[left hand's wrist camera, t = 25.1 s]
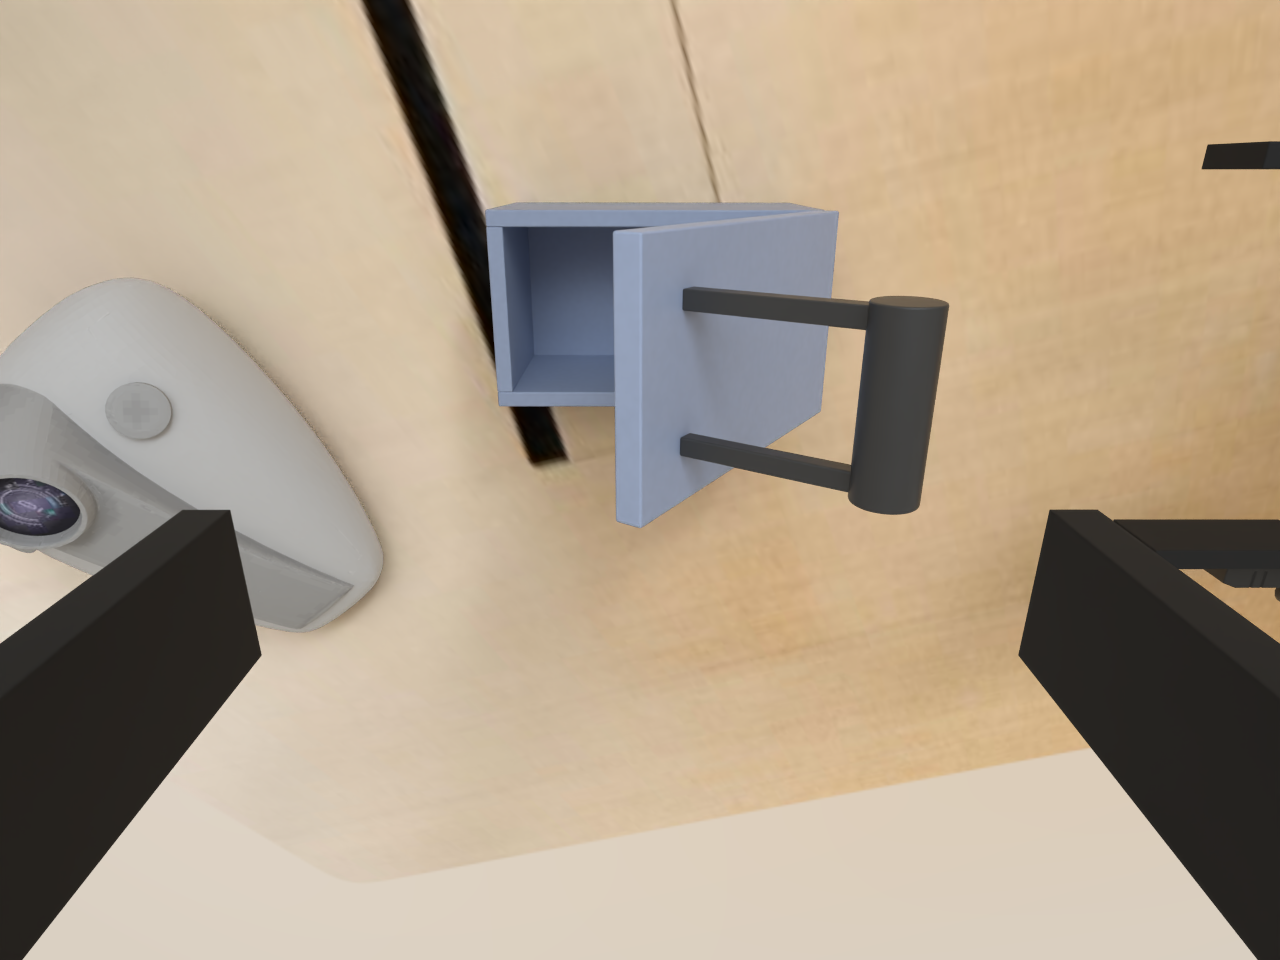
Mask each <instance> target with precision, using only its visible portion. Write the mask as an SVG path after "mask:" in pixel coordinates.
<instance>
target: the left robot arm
mask: <svg viewBox="0 0 1280 960" xmlns="http://www.w3.org/2000/svg"><path fill="white" fill-rule="evenodd" d="M260 657H261V650H260V645H259V641H258V636H257V632H256V627H255V622H254V618H253V613H252V608H251V604H250V599H249V594H248V590H247V585H246V580H245V576H244V571H243V566H242V562H241V557H240V553H239V548H238V543H237V539H236V534H235V529H234V525H233V520H232V515H231V511H230V510H181V511H180V512H179V513H177V514H176V515H175V516H173V517H172V518H171V519H169V520H168V521H167V522H165V523H164V524H162V525H161V526H160V527H158V528H157V529H156V530H154V531H153V532H152V533H150V534H149V535H147V536H146V537H145V538H143V539H142V540H141V541H139V542H138V543H137V544H135V545H134V546H133V547H131V548H130V549H128V550H127V551H126V552H124V553H123V554H122V555H120V556H119V557H118V558H116V559H115V560H113V561H112V562H111V563H109V564H108V565H107V566H105V567H104V568H103V569H101V570H100V571H98V572H97V573H96V574H94V575H93V576H92V577H90V578H89V579H88V580H86V581H85V582H84V583H82V584H81V585H79V586H78V587H77V588H75V589H74V590H73V591H71V592H70V593H69V594H67V595H66V596H64V597H63V598H62V599H60V600H59V601H58V602H56V603H55V604H54V605H52V606H51V607H49V608H48V609H47V610H45V611H44V612H43V613H41V614H40V615H39V616H37V617H36V618H35V619H33V620H32V621H30V622H29V623H28V624H26V625H25V626H24V627H22V628H21V629H20V630H18V631H17V632H15V633H14V634H13V635H11V636H10V637H9V638H7V639H6V640H5V641H3V642H2V643H1V644H0V960H22V959H23V958H24V957H25V956H26V954H27V953H28V952H29V951H30V949H31V948H32V947H33V946H34V944H35V943H36V942H37V940H38V939H39V938H40V937H41V935H42V934H43V933H44V932H45V930H46V929H47V928H48V926H49V925H50V924H51V923H52V921H53V920H54V919H55V918H56V916H57V915H58V914H59V912H60V911H61V910H62V909H63V907H64V906H65V905H66V904H67V902H68V901H69V900H70V898H71V897H72V896H73V895H74V893H75V892H76V891H77V890H78V888H79V887H80V886H81V884H82V883H83V882H84V881H85V879H86V878H87V877H88V876H89V874H90V873H91V872H92V870H93V869H94V868H95V867H96V865H97V864H98V863H99V862H100V860H101V859H102V858H103V856H104V855H105V854H106V853H107V851H108V850H109V849H110V847H111V846H112V845H113V844H114V842H115V841H116V840H117V839H118V837H119V836H120V835H121V833H122V832H123V831H124V830H125V828H126V827H127V826H128V825H129V823H130V822H131V821H132V820H133V818H134V817H135V816H136V814H137V813H138V812H139V811H140V809H141V808H142V807H143V805H144V804H145V803H146V802H147V800H148V799H149V798H150V797H151V795H152V794H153V793H154V791H155V790H156V789H157V788H158V786H159V785H160V784H161V783H162V781H163V780H164V779H165V778H166V776H167V775H168V774H169V772H170V771H171V770H172V769H173V767H174V766H175V765H176V764H177V762H178V761H179V760H180V758H181V757H182V756H183V755H184V753H185V752H186V751H187V750H188V748H189V747H190V746H191V744H192V743H193V742H194V741H195V739H196V738H197V737H198V736H199V734H200V733H201V732H202V730H203V729H204V728H205V727H206V725H207V724H208V723H209V722H210V720H211V719H212V718H213V716H214V715H215V714H216V713H217V711H218V710H219V709H220V708H221V706H222V705H223V704H224V702H225V701H226V700H227V699H228V697H229V696H230V695H231V694H232V692H233V691H234V690H235V688H236V687H237V686H238V685H239V683H240V682H241V681H242V680H243V678H244V677H245V676H246V674H247V673H248V672H249V671H250V669H251V668H252V667H253V665H254V664H255V663H256V662H257V660H258V659H259V658H260ZM1019 657H1020V658H1021V659H1022V660H1023V662H1024V663H1025V664H1026V666H1027V667H1028V668H1029V669H1030V671H1031V672H1032V673H1033V674H1034V676H1035V677H1036V678H1037V680H1038V681H1039V682H1040V683H1041V685H1042V686H1043V687H1044V688H1045V690H1046V691H1047V692H1048V694H1049V695H1050V696H1051V697H1052V699H1053V700H1054V701H1055V702H1056V704H1057V705H1058V706H1059V708H1060V709H1061V710H1062V711H1063V713H1064V714H1065V715H1066V716H1067V718H1068V719H1069V720H1070V722H1071V723H1072V724H1073V725H1074V727H1075V728H1076V729H1077V730H1078V732H1079V733H1080V734H1081V736H1082V737H1083V738H1084V739H1085V741H1086V742H1087V743H1088V744H1089V746H1090V747H1091V748H1092V750H1093V751H1094V752H1095V753H1096V755H1097V756H1098V757H1099V758H1100V760H1101V761H1102V762H1103V763H1104V765H1105V766H1106V767H1107V769H1108V770H1109V771H1110V772H1111V774H1112V775H1113V776H1114V778H1115V779H1116V780H1117V781H1118V783H1119V784H1120V785H1121V786H1122V788H1123V789H1124V790H1125V792H1126V793H1127V794H1128V795H1129V797H1130V798H1131V799H1132V800H1133V802H1134V803H1135V804H1136V805H1137V807H1138V808H1139V809H1140V811H1141V812H1142V813H1143V814H1144V816H1145V817H1146V818H1147V819H1148V821H1149V822H1150V823H1151V825H1152V826H1153V827H1154V828H1155V830H1156V831H1157V832H1158V834H1159V835H1160V836H1161V837H1162V839H1163V840H1164V841H1165V842H1166V844H1167V845H1168V846H1169V847H1170V849H1171V850H1172V851H1173V852H1174V854H1175V855H1176V856H1177V858H1178V859H1179V860H1180V862H1181V863H1182V864H1183V865H1184V867H1185V868H1186V869H1187V870H1188V872H1189V873H1190V874H1191V876H1192V877H1193V878H1194V879H1195V881H1196V882H1197V883H1198V884H1199V886H1200V887H1201V888H1202V890H1203V891H1204V892H1205V893H1206V895H1207V896H1208V897H1209V898H1210V900H1211V901H1212V902H1213V903H1214V905H1215V906H1216V907H1217V909H1218V910H1219V911H1220V912H1221V914H1222V915H1223V916H1224V917H1225V919H1226V920H1227V921H1228V923H1229V924H1230V925H1231V926H1232V928H1233V929H1234V930H1235V932H1236V933H1237V934H1238V935H1239V937H1240V938H1241V939H1242V940H1243V942H1244V943H1245V944H1246V946H1247V947H1248V948H1249V949H1250V951H1251V952H1252V953H1253V954H1254V956H1255V957H1256V958H1257V960H1280V644H1279V643H1278V642H1277V641H1275V640H1274V639H1273V638H1271V637H1270V636H1269V635H1267V634H1266V633H1265V632H1263V631H1262V630H1260V629H1259V628H1258V627H1256V626H1255V625H1254V624H1252V623H1251V622H1250V621H1248V620H1247V619H1245V618H1244V617H1243V616H1241V615H1240V614H1239V613H1237V612H1236V611H1235V610H1233V609H1232V608H1231V607H1229V606H1228V605H1226V604H1225V603H1224V602H1222V601H1221V600H1220V599H1218V598H1217V597H1216V596H1214V595H1213V594H1211V593H1210V592H1209V591H1207V590H1206V589H1205V588H1203V587H1202V586H1201V585H1199V584H1198V583H1196V582H1195V581H1194V580H1192V579H1191V578H1190V577H1188V576H1187V575H1186V574H1184V573H1183V572H1182V571H1180V570H1179V569H1177V568H1176V567H1175V566H1173V565H1172V564H1171V563H1169V562H1168V561H1167V560H1165V559H1164V558H1162V557H1161V556H1160V555H1158V554H1157V553H1156V552H1154V551H1153V550H1152V549H1150V548H1149V547H1147V546H1146V545H1145V544H1143V543H1142V542H1141V541H1139V540H1138V539H1137V538H1135V537H1134V536H1133V535H1131V534H1130V533H1128V532H1127V531H1126V530H1124V529H1123V528H1122V527H1120V526H1119V525H1118V524H1116V523H1115V522H1113V521H1112V520H1111V519H1109V518H1108V517H1107V516H1105V515H1104V514H1103V513H1101V512H1100V511H1099V510H1050V511H1049V515H1048V520H1047V525H1046V529H1045V534H1044V539H1043V543H1042V548H1041V553H1040V557H1039V562H1038V566H1037V571H1036V576H1035V580H1034V585H1033V590H1032V594H1031V599H1030V604H1029V608H1028V613H1027V618H1026V622H1025V627H1024V632H1023V636H1022V641H1021V645H1020V650H1019Z"/></svg>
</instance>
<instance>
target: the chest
mask: <svg viewBox="0 0 1280 960" xmlns="http://www.w3.org/2000/svg"><path fill="white" fill-rule="evenodd" d="M818 210H820V211H825V210H821V209H816V208H811V207H806V206H801V205H796V204H791V203H513V204H509V205H505V206H500V207H496V208H492V209H487V210H486V211H485V214H486V226H487V228H486V230H487V244H488V259H489V273H490V287H491V302H492V316H493V331H494V345H495V359H496V374H497V388H498V401H499V406H615V376H614V290H613V232H614V231H616V230H627V229H637V228H647V227H657V226H667V225H677V224H687V223H697V222H707V221H717V220H728V219H738V218H748V217H758V216H768V215H778V214H788V213H798V212H808V211H818Z"/></svg>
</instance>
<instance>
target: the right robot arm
mask: <svg viewBox="0 0 1280 960" xmlns="http://www.w3.org/2000/svg"><path fill="white" fill-rule="evenodd" d="M1202 169H1280V142H1251V143H1232V144H1212V145H1208V146H1207V150H1206V154H1205V158H1204V162H1203V166H1202ZM1113 522H1115V523H1116V524H1118V525H1119V526H1120V527H1122V528H1123V529H1124V530H1126V531H1127V532H1128V533H1130V534H1131V535H1133V536H1134V537H1135V538H1137V539H1138V540H1139V541H1141V542H1142V543H1143V544H1145V545H1146V546H1147V547H1149V548H1150V549H1152V550H1153V551H1154V552H1156V553H1157V554H1158V555H1160V556H1161V557H1162V558H1164V559H1165V560H1167V561H1168V562H1169V563H1171V564H1172V565H1173V566H1175V567H1176V568H1177V569H1204V570H1206V571H1207V572H1208V573H1210V574H1211V575H1213V576H1214V577H1215V578H1217V579H1218V580H1220V581H1221V582H1223V583H1225V584H1227V585H1230V586H1232V587H1235V588H1249V587H1251V588H1260V587H1262V588H1276V590H1275V597H1276V599H1277V600H1278V601H1280V520H1114V521H1113Z"/></svg>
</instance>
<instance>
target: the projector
mask: <svg viewBox="0 0 1280 960" xmlns="http://www.w3.org/2000/svg"><path fill="white" fill-rule="evenodd" d="M181 510H230V511H231V515H232V520H233V525H234V529H235V534H236V539H237V543H238V548H239V553H240V557H241V562H242V566H243V571H244V576H245V580H246V585H247V590H248V594H249V599H250V604H251V608H252V613H253V618H254V622H255V625H257V626H262V627H266V628H271V629H277V630H282V631H288V632H309V631H313V630H315V629H318V628H320V627H322V626H324V625H326V624H328V623H329V622H331V621H332V620H334V619H335V618H337V617H338V616H340V615H341V614H343V613H344V612H345V611H346V610H348V609H349V608H350V607H352V606H353V605H354V604H355V603H357V602H358V601H359V600H360V599H361V598H362V597H364V596H365V595H366V594H367V593H368V592H369V591H370V590H371V589H372V587H373V586H374V585H375V583H376V582H377V580H378V578H379V576H380V574H381V571H382V567H383V551H382V547H381V544H380V542H379V539H378V537H377V535H376V532H375V530H374V528H373V526H372V524H371V522H370V520H369V518H368V516H367V514H366V512H365V510H364V509H363V507H362V505H361V503H360V501H359V500H358V498H357V496H356V494H355V493H354V491H353V489H352V488H351V486H350V484H349V483H348V481H347V480H346V478H345V476H344V475H343V473H342V472H341V470H340V468H339V467H338V465H337V464H336V462H335V461H334V459H333V458H332V456H331V455H330V453H329V452H328V451H327V449H326V448H325V446H324V445H323V443H322V442H321V441H320V439H319V438H318V437H317V435H316V434H315V433H314V431H313V430H312V428H311V427H310V426H309V425H308V423H307V422H306V421H305V420H304V418H303V417H302V416H301V415H300V413H299V412H298V411H297V410H296V408H295V407H294V406H293V405H292V403H291V402H290V401H289V400H288V399H287V398H286V396H285V395H284V394H283V393H282V392H281V391H280V389H279V388H278V387H277V386H276V385H275V384H274V382H273V381H272V380H271V379H270V378H269V377H268V376H267V375H266V374H265V373H264V371H263V370H262V369H261V368H260V367H259V366H258V365H257V364H256V363H255V362H254V361H253V360H252V359H251V357H250V356H249V355H248V354H247V353H246V352H245V351H244V350H243V349H242V348H241V347H240V346H239V345H238V344H237V343H236V342H235V341H234V340H233V339H232V338H231V337H230V336H229V335H228V334H227V333H226V332H225V331H223V330H222V329H221V328H220V327H219V326H218V325H217V324H216V323H215V322H214V321H213V320H211V319H210V318H209V317H208V316H207V315H206V314H205V313H203V312H202V311H201V310H200V309H199V308H197V307H196V306H195V305H193V304H192V303H191V302H189V301H188V300H186V299H185V298H184V297H182V296H181V295H179V294H177V293H176V292H174V291H172V290H171V289H169V288H167V287H165V286H162V285H160V284H158V283H155V282H152V281H149V280H144V279H139V278H119V279H113V280H108V281H104V282H101V283H98V284H95V285H92V286H89V287H86V288H84V289H82V290H80V291H78V292H76V293H74V294H72V295H70V296H68V297H67V298H65V299H64V300H62V301H61V302H59V303H58V304H56V305H55V306H54V307H52V308H51V309H50V310H49V311H47V312H46V313H45V314H43V315H42V316H41V317H40V318H38V319H37V320H36V321H35V322H34V323H33V324H32V325H30V326H29V327H28V328H27V329H26V330H25V331H24V332H23V333H22V334H21V335H19V336H18V337H17V338H16V339H15V340H14V341H13V342H12V343H11V344H10V345H9V346H8V348H7V349H6V350H5V352H4V353H3V354H2V355H1V356H0V544H3V545H7V546H10V547H12V548H14V549H16V550H19V551H22V552H26V553H32V552H34V551H35V550H39V551H40V552H42V553H44V554H46V555H48V556H50V557H52V558H54V559H56V560H58V561H61V562H63V563H65V564H67V565H70V566H72V567H74V568H76V569H79V570H81V571H83V572H85V573H88V574H91V575H94V574H96V573H97V572H98V571H100V570H101V569H103V568H104V567H105V566H107V565H108V564H109V563H111V562H112V561H113V560H115V559H116V558H118V557H119V556H120V555H122V554H123V553H124V552H126V551H127V550H128V549H130V548H131V547H133V546H134V545H135V544H137V543H138V542H139V541H141V540H142V539H143V538H145V537H146V536H147V535H149V534H150V533H152V532H153V531H154V530H156V529H157V528H158V527H160V526H161V525H162V524H164V523H165V522H167V521H168V520H169V519H171V518H172V517H173V516H175V515H176V514H177V513H179V512H180V511H181Z"/></svg>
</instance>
